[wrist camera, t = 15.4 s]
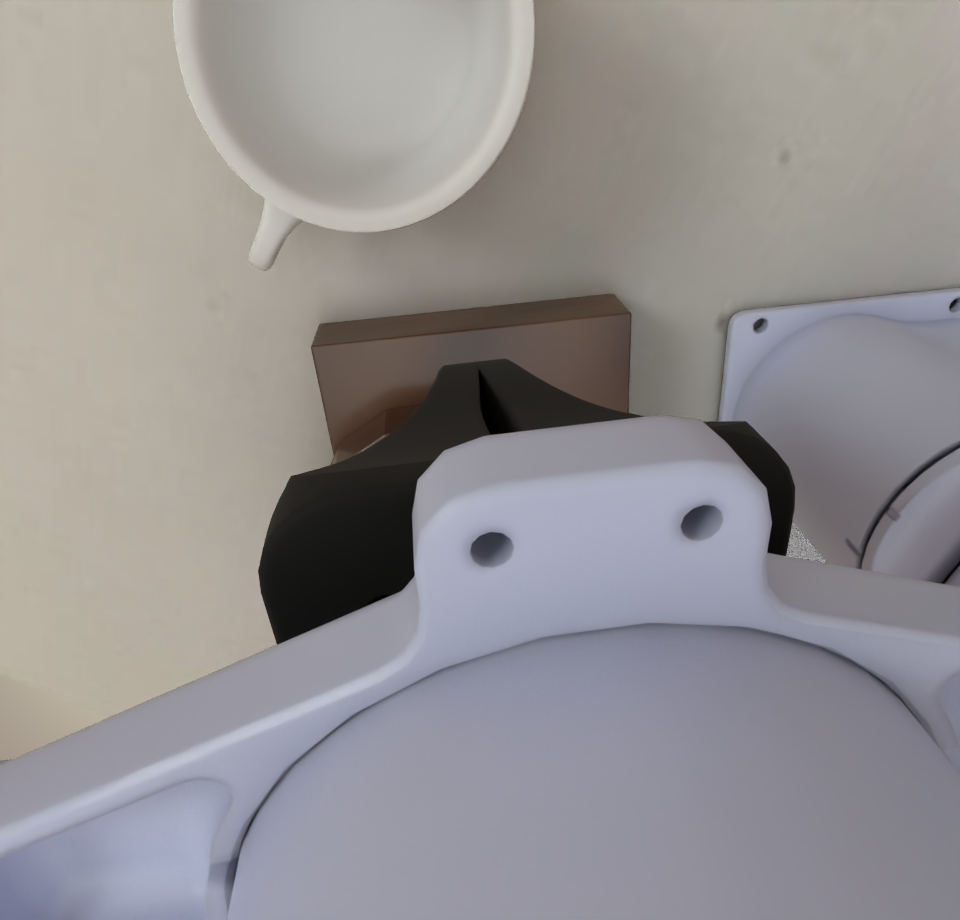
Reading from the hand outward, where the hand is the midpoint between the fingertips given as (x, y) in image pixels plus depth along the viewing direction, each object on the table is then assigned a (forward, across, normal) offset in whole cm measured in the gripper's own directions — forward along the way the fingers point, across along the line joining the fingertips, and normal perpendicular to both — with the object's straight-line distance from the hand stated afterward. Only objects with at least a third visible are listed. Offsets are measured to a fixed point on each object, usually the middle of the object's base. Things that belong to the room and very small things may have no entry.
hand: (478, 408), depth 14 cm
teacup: (+11, +2, -6) cm, 12 cm away
